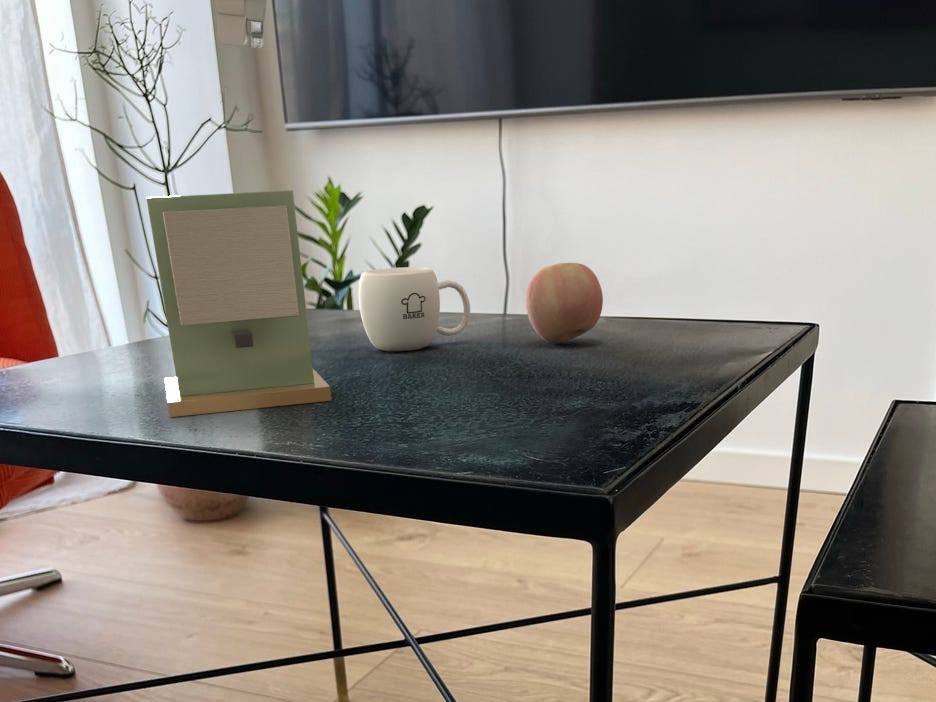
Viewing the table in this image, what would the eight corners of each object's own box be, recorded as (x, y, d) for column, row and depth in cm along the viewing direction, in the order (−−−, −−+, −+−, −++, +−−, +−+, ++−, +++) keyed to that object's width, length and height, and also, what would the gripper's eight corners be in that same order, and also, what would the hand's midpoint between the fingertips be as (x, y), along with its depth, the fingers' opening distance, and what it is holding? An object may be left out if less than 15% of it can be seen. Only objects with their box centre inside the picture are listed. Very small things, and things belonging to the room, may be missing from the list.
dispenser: (333, 403, 83) (311, 189, 76) (170, 420, 80) (131, 198, 73) (311, 377, 94) (289, 190, 88) (167, 391, 91) (133, 198, 85)
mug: (373, 357, 104) (366, 276, 100) (355, 346, 111) (348, 270, 108) (484, 346, 107) (480, 267, 104) (459, 336, 114) (455, 262, 111)
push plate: (299, 316, 80) (286, 205, 76) (181, 325, 77) (162, 212, 74) (297, 314, 81) (284, 205, 77) (180, 323, 78) (162, 211, 75)
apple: (611, 338, 108) (612, 258, 105) (587, 350, 102) (587, 265, 98) (542, 337, 111) (540, 259, 108) (514, 348, 105) (512, 266, 101)
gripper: (215, -170, 75) (220, 44, 82) (158, -243, 58) (170, 38, 64) (300, -159, 76) (298, 53, 83) (270, -227, 58) (271, 49, 65)
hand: (242, 46), depth 74 cm, fingers open, 8 cm apart
